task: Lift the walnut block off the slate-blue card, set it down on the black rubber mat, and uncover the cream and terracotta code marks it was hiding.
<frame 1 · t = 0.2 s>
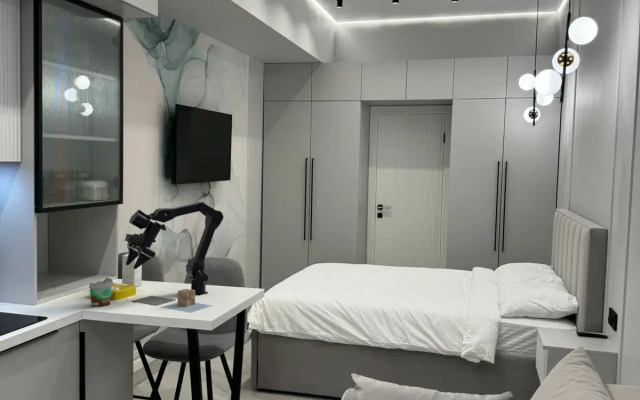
hand: (130, 266, 249), 15 cm above the worktop, tool tilted 30°, fingers open, 9 cm apart
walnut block: (186, 304, 245), resting on code card
food container: (104, 305, 242), on the worktop
element tile: (113, 297, 259), on the worktop
skincare box: (132, 287, 279), on the worktop
code card: (186, 306, 243), on the worktop
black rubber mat: (154, 301, 251), on the worktop
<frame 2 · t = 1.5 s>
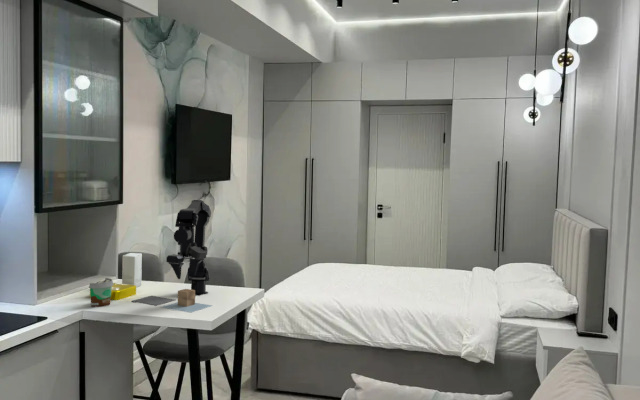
hand: (186, 277, 245), 12 cm above the worktop, tool pointing down, fingers open, 9 cm apart
nothing on the worktop moved.
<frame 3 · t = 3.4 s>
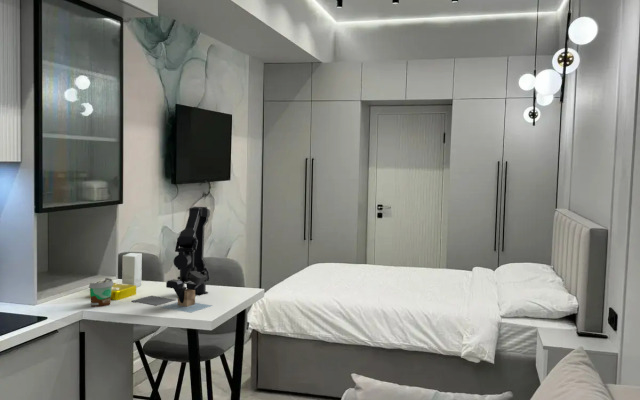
hand: (186, 301, 245), 2 cm above the worktop, tool pointing down, fingers closed on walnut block, 5 cm apart
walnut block: (186, 304, 245), resting on code card, touching gripper
everything else where it was.
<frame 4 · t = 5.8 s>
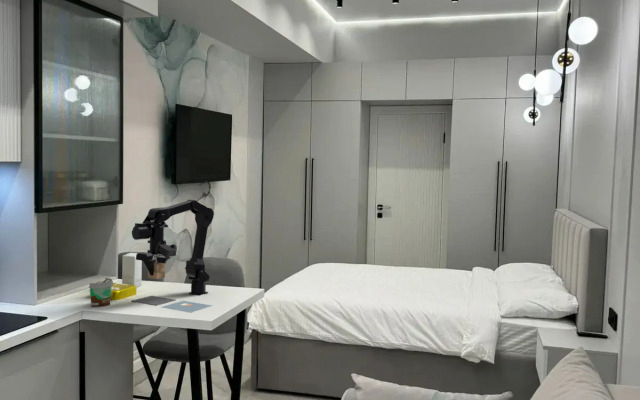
hand: (156, 274, 250), 12 cm above the worktop, tool pointing down, fingers closed on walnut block, 5 cm apart
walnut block: (156, 277, 250), point 10 cm above the worktop, touching gripper
everything else where it was.
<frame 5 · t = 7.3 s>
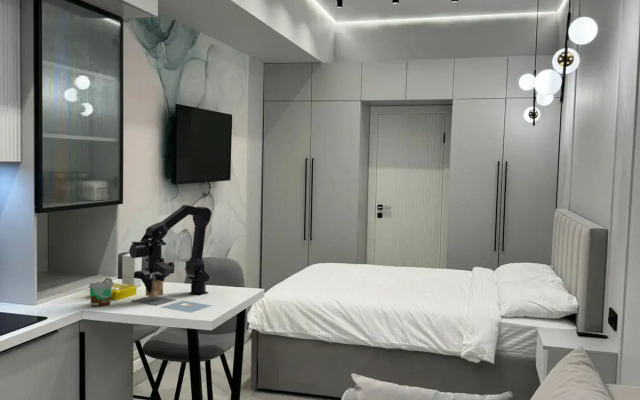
hand: (154, 292, 251), 4 cm above the worktop, tool pointing down, fingers closed on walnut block, 5 cm apart
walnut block: (154, 295, 251), point 3 cm above the worktop, touching gripper
everything else where it was.
when the fingers open (3 cm above the worktop, at t = 8.3 s): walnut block drops 1 cm, resting on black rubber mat.
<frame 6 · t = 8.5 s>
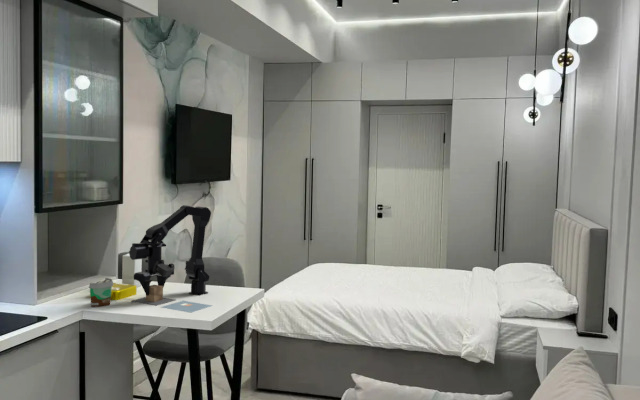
hand: (154, 293, 251), 3 cm above the worktop, tool pointing down, fingers open, 7 cm apart
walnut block: (154, 300, 251), resting on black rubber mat
everything else where it was.
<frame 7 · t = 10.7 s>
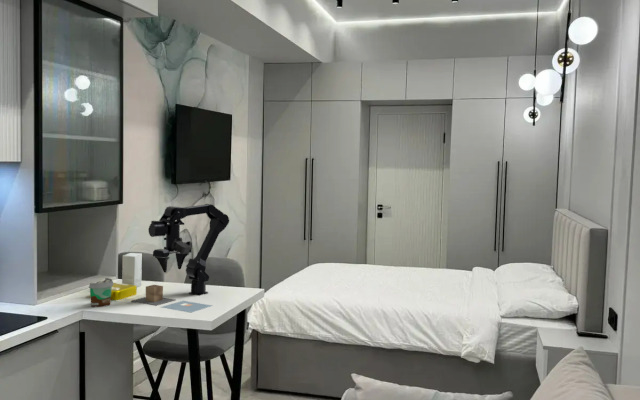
hand: (172, 270, 257), 12 cm above the worktop, tool pointing down, fingers open, 9 cm apart
nothing on the worktop moved.
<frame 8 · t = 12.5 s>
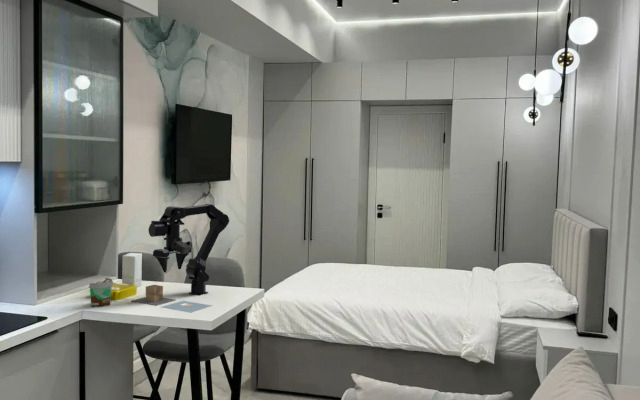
hand: (172, 270, 257), 12 cm above the worktop, tool pointing down, fingers open, 9 cm apart
nothing on the worktop moved.
at the end: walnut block inside the target area on the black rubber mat (0.1 cm from its centre), point 0.4 cm above the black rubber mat's base; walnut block tilted 0°; the gripper is holding nothing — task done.
